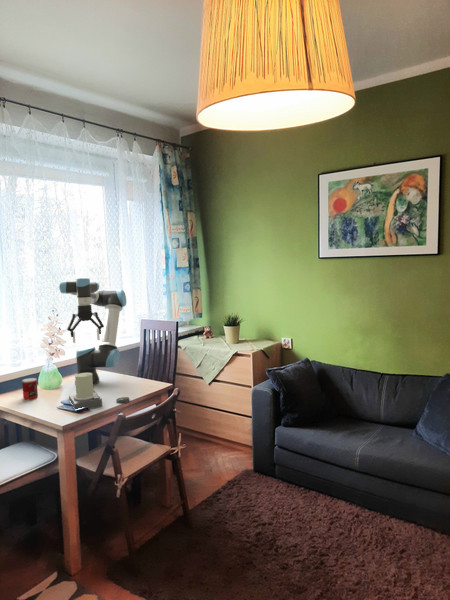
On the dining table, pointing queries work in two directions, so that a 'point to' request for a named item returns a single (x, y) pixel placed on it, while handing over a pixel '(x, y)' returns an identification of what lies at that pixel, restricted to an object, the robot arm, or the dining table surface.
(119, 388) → the dining table surface
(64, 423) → the dining table surface
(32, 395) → the canned food
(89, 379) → the can
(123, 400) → the lens cap
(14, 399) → the dining table surface
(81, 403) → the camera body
